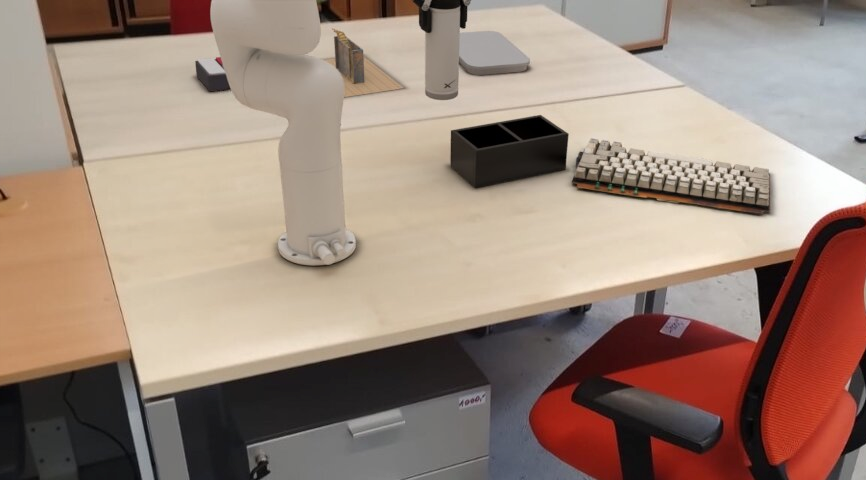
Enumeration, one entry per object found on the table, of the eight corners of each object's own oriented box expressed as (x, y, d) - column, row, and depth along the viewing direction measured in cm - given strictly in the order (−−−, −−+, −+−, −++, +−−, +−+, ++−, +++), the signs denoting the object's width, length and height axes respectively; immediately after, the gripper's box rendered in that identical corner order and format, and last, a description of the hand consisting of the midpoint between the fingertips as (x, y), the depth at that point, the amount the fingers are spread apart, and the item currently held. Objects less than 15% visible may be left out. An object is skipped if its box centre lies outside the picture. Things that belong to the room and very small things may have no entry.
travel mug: (455, 102, 176) (458, -8, 165) (421, 98, 177) (421, -12, 166) (463, 91, 181) (466, -17, 170) (429, 87, 182) (430, -21, 171)
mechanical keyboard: (769, 174, 187) (773, 158, 185) (770, 218, 172) (773, 201, 170) (581, 150, 193) (583, 134, 191) (565, 190, 178) (567, 174, 176)
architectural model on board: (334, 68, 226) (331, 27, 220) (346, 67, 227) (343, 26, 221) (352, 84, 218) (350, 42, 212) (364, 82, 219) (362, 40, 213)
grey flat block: (496, 38, 250) (497, 30, 249) (533, 71, 230) (534, 62, 229) (438, 43, 245) (438, 34, 244) (470, 76, 225) (470, 67, 224)
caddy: (565, 169, 184) (568, 133, 180) (475, 188, 176) (476, 150, 172) (538, 149, 192) (540, 114, 187) (450, 166, 183) (450, 130, 179)
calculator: (274, 67, 214) (207, 72, 207) (275, 85, 216) (209, 91, 209) (259, 52, 222) (194, 57, 215) (260, 70, 224) (196, 75, 217)
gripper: (407, -69, 155) (409, 40, 166) (498, -76, 163) (494, 29, 173) (388, -78, 161) (391, 28, 171) (477, -85, 168) (474, 18, 178)
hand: (443, 27), depth 172 cm, fingers closed on travel mug, 6 cm apart
